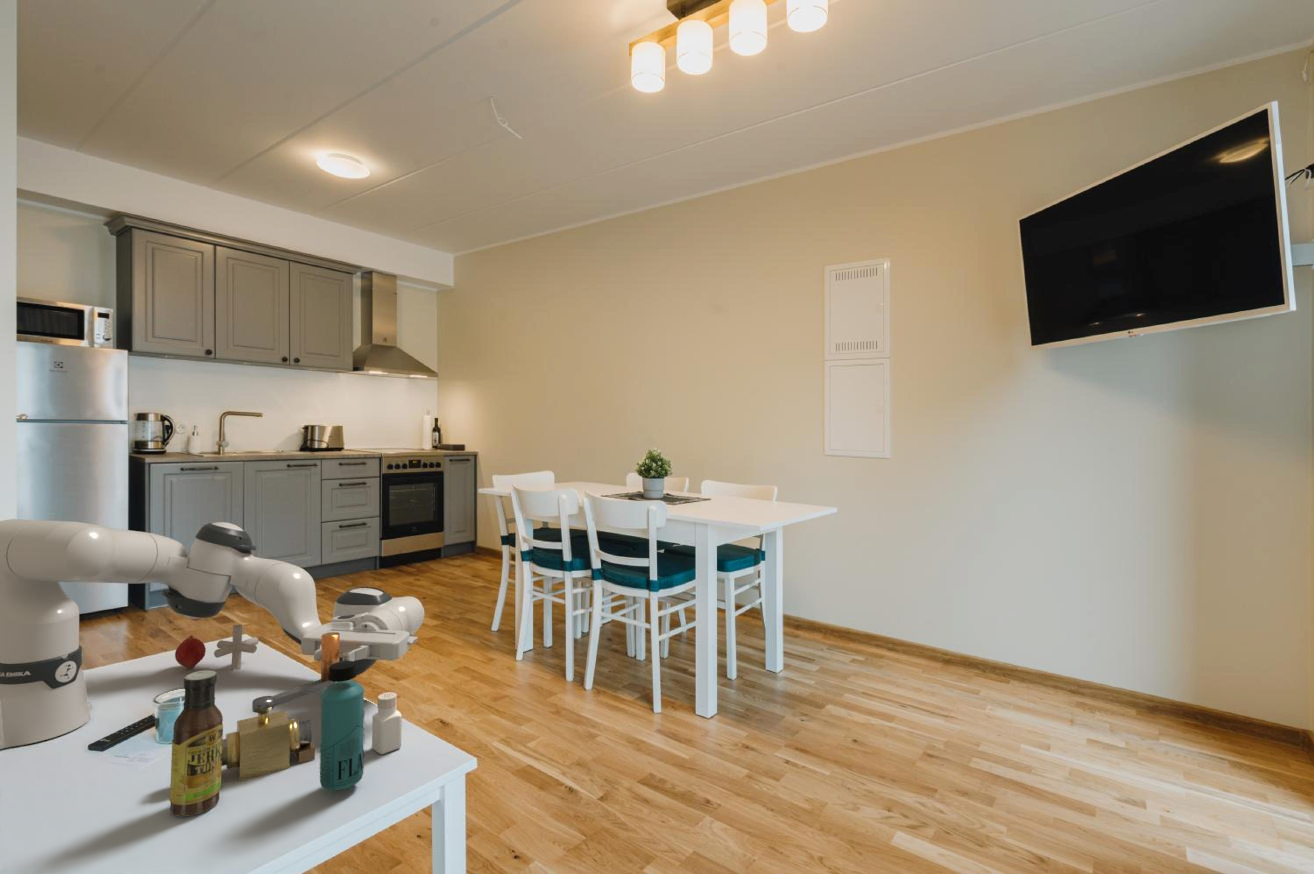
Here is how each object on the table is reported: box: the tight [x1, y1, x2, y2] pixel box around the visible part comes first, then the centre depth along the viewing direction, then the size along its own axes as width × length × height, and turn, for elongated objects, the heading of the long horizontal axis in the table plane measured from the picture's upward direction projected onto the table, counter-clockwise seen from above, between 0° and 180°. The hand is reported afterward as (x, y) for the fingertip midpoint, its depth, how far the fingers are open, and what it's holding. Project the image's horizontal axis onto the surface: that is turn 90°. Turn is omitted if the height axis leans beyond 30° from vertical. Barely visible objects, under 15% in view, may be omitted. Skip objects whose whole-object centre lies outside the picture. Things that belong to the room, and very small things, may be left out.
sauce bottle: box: [169, 670, 224, 817], centre depth 96 cm, size 6×6×20 cm
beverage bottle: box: [318, 661, 366, 791], centre depth 101 cm, size 6×7×20 cm
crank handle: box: [251, 632, 340, 714], centre depth 113 cm, size 15×3×9 cm, turn 151°
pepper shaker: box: [371, 691, 403, 755], centre depth 114 cm, size 4×4×10 cm
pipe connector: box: [213, 624, 259, 671], centre depth 150 cm, size 10×10×10 cm
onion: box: [174, 634, 207, 670], centre depth 149 cm, size 6×6×8 cm
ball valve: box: [222, 710, 316, 782], centre depth 106 cm, size 18×6×10 cm, turn 128°
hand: (331, 657), depth 117 cm, fingers open, 4 cm apart
